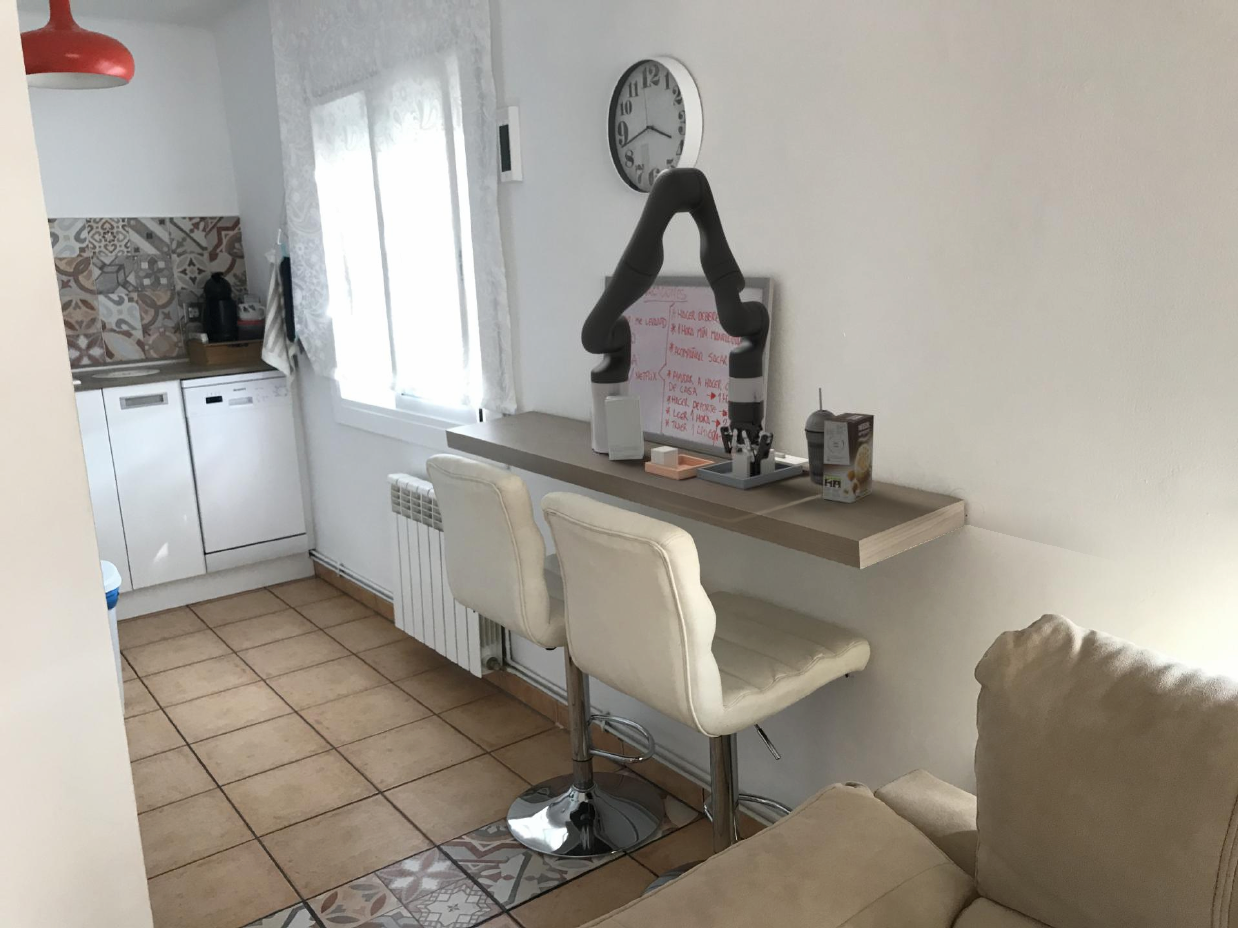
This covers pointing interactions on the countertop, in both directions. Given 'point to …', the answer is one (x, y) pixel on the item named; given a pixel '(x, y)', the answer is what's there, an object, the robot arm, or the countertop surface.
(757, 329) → the robot arm
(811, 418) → the beverage cup
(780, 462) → the blue-grey shallow rectangular tray
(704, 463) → the orange square tray
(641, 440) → the skincare box
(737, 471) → the white cuboid
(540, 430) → the countertop surface
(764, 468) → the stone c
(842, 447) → the coffee box
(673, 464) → the white block
